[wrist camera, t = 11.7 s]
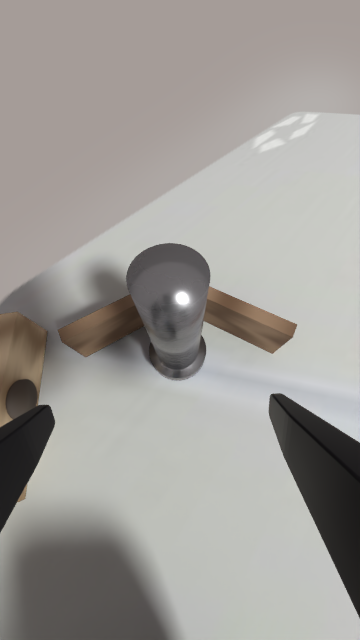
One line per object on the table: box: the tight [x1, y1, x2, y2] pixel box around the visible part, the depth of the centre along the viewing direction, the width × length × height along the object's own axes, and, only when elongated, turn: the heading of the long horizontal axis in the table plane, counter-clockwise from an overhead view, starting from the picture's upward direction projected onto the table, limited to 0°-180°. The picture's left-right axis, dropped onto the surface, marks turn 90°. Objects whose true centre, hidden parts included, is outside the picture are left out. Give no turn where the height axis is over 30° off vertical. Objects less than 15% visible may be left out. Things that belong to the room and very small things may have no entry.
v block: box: [58, 287, 297, 357], centre depth 23 cm, size 8×22×5 cm, turn 91°
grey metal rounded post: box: [126, 243, 210, 380], centre depth 17 cm, size 6×6×14 cm
